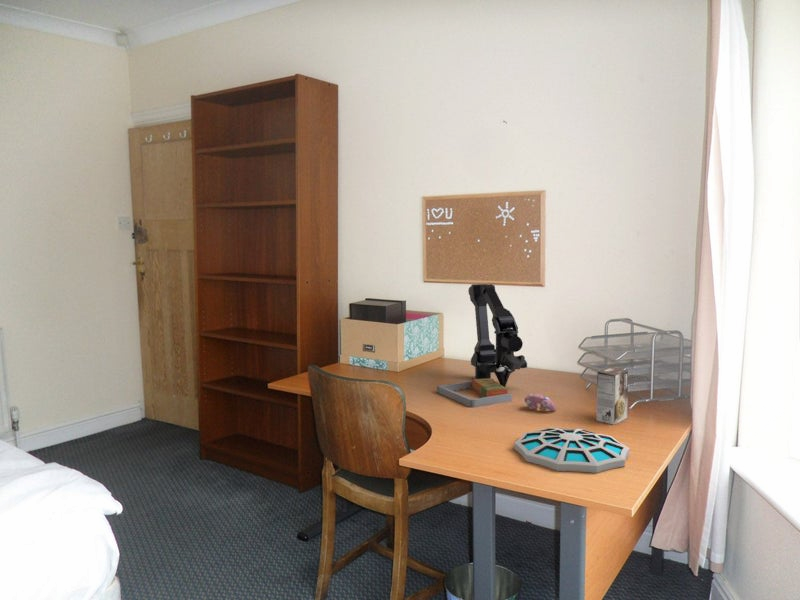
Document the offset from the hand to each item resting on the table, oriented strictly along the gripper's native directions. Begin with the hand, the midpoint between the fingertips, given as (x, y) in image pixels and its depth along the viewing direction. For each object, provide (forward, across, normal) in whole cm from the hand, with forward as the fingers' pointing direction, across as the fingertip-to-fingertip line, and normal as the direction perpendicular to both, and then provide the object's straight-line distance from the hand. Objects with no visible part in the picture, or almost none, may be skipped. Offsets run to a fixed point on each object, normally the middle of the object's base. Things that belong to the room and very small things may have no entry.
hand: (503, 387), depth 232 cm
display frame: (+2, -13, 0) cm, 13 cm away
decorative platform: (+2, -23, -60) cm, 65 cm away
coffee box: (+2, +9, -45) cm, 46 cm away
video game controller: (+2, -4, -25) cm, 26 cm away
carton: (+2, -5, +2) cm, 6 cm away
